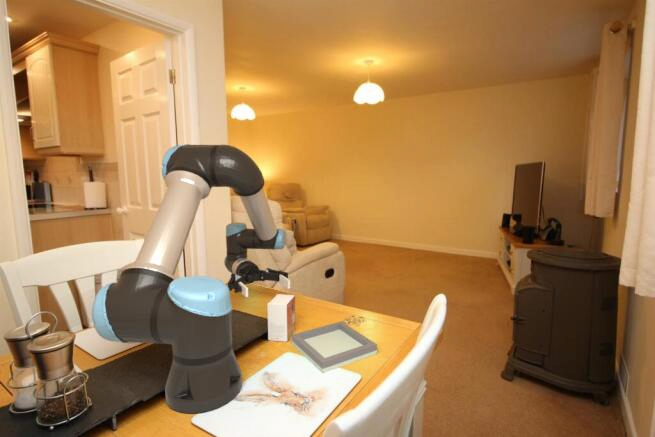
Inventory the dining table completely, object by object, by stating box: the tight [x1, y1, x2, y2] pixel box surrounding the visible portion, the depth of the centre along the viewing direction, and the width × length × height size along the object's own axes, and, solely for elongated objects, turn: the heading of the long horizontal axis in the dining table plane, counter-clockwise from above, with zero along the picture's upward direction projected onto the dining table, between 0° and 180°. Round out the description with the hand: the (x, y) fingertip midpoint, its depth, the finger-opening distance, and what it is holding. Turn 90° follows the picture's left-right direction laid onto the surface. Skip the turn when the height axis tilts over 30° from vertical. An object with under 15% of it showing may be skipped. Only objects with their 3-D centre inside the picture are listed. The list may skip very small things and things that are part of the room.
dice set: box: [343, 315, 365, 328], centre depth 104 cm, size 5×5×2 cm
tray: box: [291, 320, 378, 374], centre depth 89 cm, size 16×16×2 cm
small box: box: [266, 293, 296, 343], centre depth 96 cm, size 8×6×10 cm
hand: (268, 288), depth 104 cm, fingers open, 13 cm apart
